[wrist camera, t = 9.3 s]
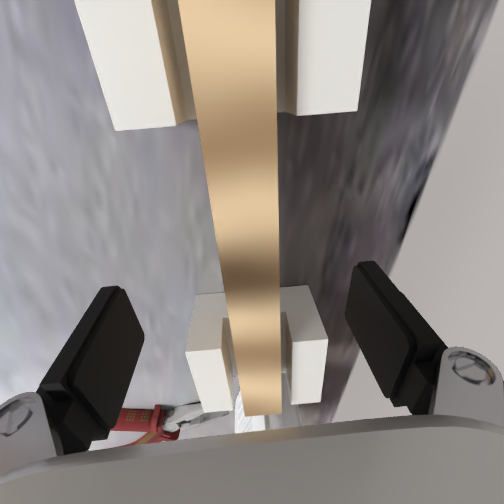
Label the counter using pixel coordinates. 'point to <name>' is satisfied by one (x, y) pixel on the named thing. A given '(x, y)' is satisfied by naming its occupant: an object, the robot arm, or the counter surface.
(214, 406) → the end caps
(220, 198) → the slat
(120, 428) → the pliers
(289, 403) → the photo printer
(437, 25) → the counter surface
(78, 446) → the robot arm
